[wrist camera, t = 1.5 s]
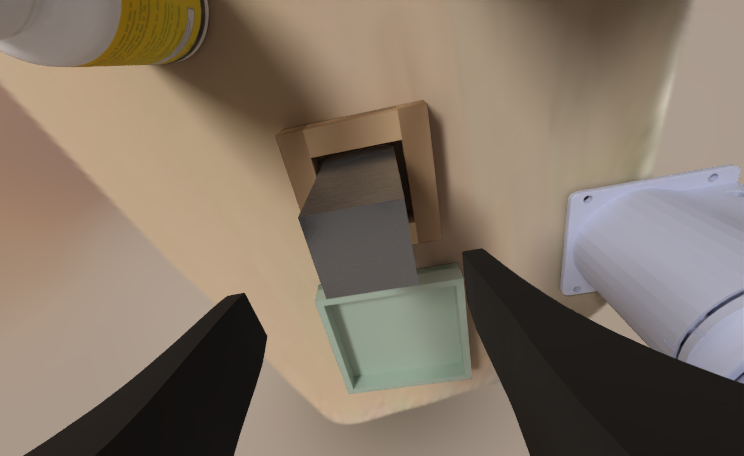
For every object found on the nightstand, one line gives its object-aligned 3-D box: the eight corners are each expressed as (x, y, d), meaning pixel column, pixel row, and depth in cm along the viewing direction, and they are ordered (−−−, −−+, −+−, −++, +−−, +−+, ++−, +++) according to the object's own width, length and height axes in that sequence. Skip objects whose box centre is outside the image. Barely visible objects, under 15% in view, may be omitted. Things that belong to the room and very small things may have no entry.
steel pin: (392, 143, 19) (404, 197, 12) (403, 205, 21) (418, 284, 14) (325, 157, 19) (298, 217, 12) (342, 216, 21) (326, 299, 14)
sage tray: (457, 262, 23) (463, 278, 21) (466, 359, 27) (472, 378, 26) (318, 284, 24) (314, 301, 22) (350, 374, 28) (348, 394, 27)
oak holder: (422, 100, 18) (427, 103, 16) (438, 227, 21) (442, 239, 20) (282, 130, 18) (275, 135, 17) (320, 248, 22) (317, 260, 21)
